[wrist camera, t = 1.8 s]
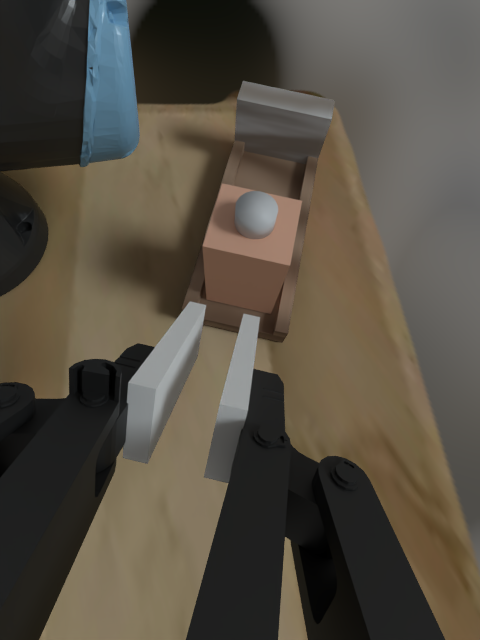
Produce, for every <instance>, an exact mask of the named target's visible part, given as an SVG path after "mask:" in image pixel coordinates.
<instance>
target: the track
mask: <svg viewBox="0 0 480 640" xmlns="http://www.w3.org/2000/svg"><path fill="white" fill-rule="evenodd" d="M334 102H335V100H330V99H326V98H321V97H316V96H312V95H307V94H302V93H298V92H293V91H288V90H283V89H279V88H274V87H269V86H265V85H259V84H255V83H251V82H245V81H243V83H242V86H241V89H240V92H239V95H238V98H237V110H236V128H235V141H234V144H233V147H232V151H231V154H230V157H229V160H228V163H227V166H226V170H225V173H224V176H223V179H222V182H221V185H222V183H223V184H228V185H232V186H237V187H241V188H246V189H250V190H255V191H261V192H264V193H269V194H273V195H278V196H282V197H287V198H291V199H296V200H300V201H302V205H301V210H300V215H299V221H298V226H297V232H296V237H295V242H294V248H293V253H292V258H291V264H290V267H289V270H288V272H287V275H286V277H285V280H284V282H283V285H282V287H281V290H280V292H279V295H278V297H277V300H276V302H275V305H274V307H273V310H272V312H271V314H268V313H263V312H259V311H254V310H250V309H246V308H241V307H237V306H232V305H228V304H224V303H219V302H215V301H210V300H206V287H205V274H204V260H203V247H202V246H203V243H204V240H205V236H206V233H207V230H208V227H209V224H210V220H211V217H212V214H213V211H214V208H215V204H216V201H217V198H218V195H219V192H220V189H219V192H218V195H217V198H216V201H215V204H214V208H213V211H212V214H211V217H210V220H209V224H208V227H207V230H206V233H205V236H204V239H203V243H202V246H201V249H200V252H199V255H198V258H197V262H196V265H195V268H194V271H193V274H192V277H191V281H190V284H189V287H188V290H187V293H186V297H185V300H184V303H183V306H182V311H183V310H184V308H185V307H186V306H187V304H188V303H189V302H190V301H191V302H195V303H199V304H204V305H206V309H205V315H204V321H203V324H204V325H208V326H212V327H217V328H221V329H225V330H230V331H234V332H239V329H240V325H241V322H242V318H243V314H248V315H252V316H256V317H260V321H259V329H258V337H260V338H265V339H269V340H273V341H278V342H283V341H284V339H285V337H286V336H287V334H288V330H289V324H290V318H291V313H292V307H293V301H294V295H295V290H296V284H297V278H298V272H299V266H300V261H301V255H302V249H303V243H304V237H305V232H306V226H307V220H308V214H309V208H310V203H311V197H312V191H313V185H314V180H315V174H316V168H317V162H318V157H319V154H320V152H321V149H322V146H323V143H324V140H325V137H326V134H327V131H328V129H329V126H330V123H331V120H332V114H333V108H334ZM221 185H220V188H221Z"/></svg>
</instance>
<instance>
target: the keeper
mask: <svg viewBox="0 0 480 640" xmlns="http://www.w3.org/2000/svg"><path fill="white" fill-rule="evenodd" d="M301 205H302V201H300V200H296V199H291V198H287V197H282V196H278V195H273V194H269V193H264V192H261V191H255V190H250V189H246V188H241V187H237V186H232V185H228V184H223V183H222V185H221V188H220V192H219V195H218V198H217V201H216V204H215V208H214V211H213V214H212V217H211V220H210V224H209V227H208V230H207V233H206V236H205V240H204V243H203V246H202V247H203V260H204V274H205V287H206V300H210V301H215V302H219V303H224V304H228V305H232V306H237V307H241V308H246V309H250V310H254V311H259V312H263V313H268V314H271V312H272V310H273V307H274V305H275V302H276V300H277V297H278V295H279V292H280V290H281V287H282V285H283V282H284V280H285V277H286V275H287V272H288V270H289V267H290V264H291V258H292V253H293V248H294V242H295V237H296V232H297V226H298V221H299V215H300V210H301Z"/></svg>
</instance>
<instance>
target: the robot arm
mask: <svg viewBox="0 0 480 640" xmlns="http://www.w3.org/2000/svg"><path fill="white" fill-rule="evenodd" d="M132 63H133V62H132V52H131V43H130V34H129V25H128V13H127V4H126V0H0V171H8V170H19V169H30V168H41V167H52V166H63V165H74V164H79V165H80V167H85V166H87V165H88V164H89V163H93V162H100V161H108V160H115V159H121V158H125V157H127V156H129V155H130V154H131V153H132V152H133V151H134V150H135V149H136V147H137V145H138V142H139V136H140V135H139V121H138V111H137V101H136V91H135V81H134V72H133V64H132ZM47 241H48V225H47V221H46V218H45V216H44V214H43V212H42V210H41V209H40V207H39V206H38V205H37V203H36V202H35V201H34V199H33V198H32V197H31V195H30V194H29V193H28V192H27V191H26V190H25V189H24V188H23V187H22V186H21V185H19V184H18V183H16V182H15V181H14V180H12V179H11V178H9V177H8V176H6V175H5V174H3V173H2V172H0V296H2V295H4V294H6V293H7V292H9V291H11V290H12V289H13V288H15V287H16V286H18V285H19V284H20V283H21V282H22V281H24V280H25V279H26V278H27V277H28V276H29V275H30V274H31V272H32V271H33V270H34V269H35V268H36V266H37V265H38V263H39V262H40V260H41V258H42V256H43V254H44V251H45V249H46V245H47ZM205 309H206V305H204V304H199V303H195V302H191V301H190V302H189V303H188V304H187V306H186V307H185V308H184V310H183V311H182V312H181V314H180V315H179V316H178V318H177V319H176V320H175V322H174V323H173V324H172V326H171V327H170V328H169V330H168V331H167V332H166V334H165V335H164V336H163V338H162V339H161V340H160V341H159V343H158V344H157V345H156V347H152V346H147V345H143V344H139V343H138V344H136V345H134V346H131V347H129V348H127V349H126V350H125V351H124V352H123V353H122V354H121V355H120V358H118V359H117V360H116V361H115V362H111V361H108V360H103V359H90V360H84V361H81V362H78V363H76V364H74V365H73V366H71V367H70V368H69V395H68V396H67V397H66V398H63V399H35V393H34V391H33V389H32V388H31V387H29V386H28V385H26V384H22V383H17V382H11V383H1V384H0V640H39V638H40V636H41V634H42V632H43V629H44V627H45V625H46V623H47V621H48V618H49V616H50V614H51V612H52V610H53V607H54V605H55V603H56V601H57V598H58V596H59V594H60V592H61V590H62V587H63V585H64V583H65V581H66V578H67V576H68V574H69V572H70V570H71V567H72V565H73V563H74V561H75V558H76V556H77V554H78V552H79V550H80V547H81V545H82V543H83V541H84V539H85V536H86V534H87V532H88V530H89V527H90V525H91V523H92V521H93V519H94V516H95V514H96V512H97V510H98V507H99V505H100V503H101V501H102V499H103V496H104V494H105V492H106V490H107V487H108V485H109V483H110V481H111V479H112V476H113V474H114V472H115V467H116V457H117V456H118V454H119V452H120V450H121V449H122V447H123V445H124V448H123V458H126V459H130V460H134V461H138V462H142V463H146V464H148V461H149V459H150V457H151V455H152V453H153V451H154V449H155V446H156V444H157V442H158V440H159V438H160V436H161V434H162V431H163V429H164V427H165V425H166V423H167V421H168V419H169V416H170V414H171V412H172V410H173V408H174V406H175V404H176V401H177V399H178V397H179V395H180V393H181V391H182V389H183V387H184V384H185V382H186V380H187V378H188V376H189V374H190V372H191V369H192V367H193V365H194V363H195V361H196V359H197V356H198V350H199V345H200V339H201V333H202V327H203V321H204V315H205ZM259 321H260V317H256V316H252V315H248V314H243V318H242V322H241V325H240V329H239V333H238V337H237V341H236V344H235V348H234V352H233V356H232V360H231V363H230V367H229V371H228V375H227V379H226V382H225V386H224V390H223V394H222V398H221V401H220V405H219V410H218V415H217V419H216V424H215V428H214V433H213V438H212V442H211V447H210V452H209V456H208V461H207V465H206V470H205V475H204V477H205V478H209V479H214V480H218V481H222V482H226V483H229V484H228V488H227V491H226V495H225V498H224V502H223V506H222V509H221V513H220V517H219V520H218V524H217V528H216V531H215V535H214V539H213V542H212V546H211V550H210V553H209V557H208V561H207V564H206V568H205V572H204V575H203V579H202V583H201V586H200V590H199V594H198V597H197V601H196V605H195V608H194V612H193V616H192V619H191V623H190V627H189V630H188V634H187V638H186V640H278V630H279V615H280V600H281V586H282V571H283V556H284V541H285V537H287V538H288V539H290V540H291V547H292V552H293V558H294V564H295V569H296V575H297V581H298V586H299V592H300V597H301V603H302V609H303V614H304V620H305V625H306V631H307V637H308V640H445V638H444V636H443V634H442V632H441V630H440V628H439V626H438V623H437V621H436V619H435V617H434V615H433V613H432V611H431V609H430V606H429V604H428V602H427V600H426V598H425V596H424V594H423V592H422V590H421V587H420V585H419V583H418V581H417V579H416V577H415V575H414V573H413V571H412V568H411V566H410V564H409V562H408V560H407V558H406V556H405V554H404V552H403V549H402V547H401V545H400V543H399V541H398V539H397V537H396V535H395V533H394V530H393V528H392V526H391V524H390V522H389V520H388V518H387V516H386V513H385V511H384V509H383V507H382V505H381V503H380V501H379V499H378V497H377V494H376V492H375V490H374V488H373V486H372V484H371V482H370V480H369V478H368V477H367V475H366V474H365V472H364V471H363V470H362V469H361V468H359V467H358V466H357V465H356V464H355V463H353V462H351V461H349V460H348V459H346V458H342V457H338V456H327V457H326V458H324V459H322V460H321V462H320V463H318V462H316V461H314V460H312V459H310V458H308V457H306V456H304V455H303V454H301V453H299V452H298V451H297V450H296V449H295V448H293V446H292V445H291V443H290V438H289V437H288V435H287V434H286V432H285V416H284V395H283V394H284V384H283V382H282V381H281V379H280V377H279V376H278V375H277V374H273V373H269V372H264V371H260V370H256V369H253V367H254V360H255V352H256V344H257V337H258V329H259Z"/></svg>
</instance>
